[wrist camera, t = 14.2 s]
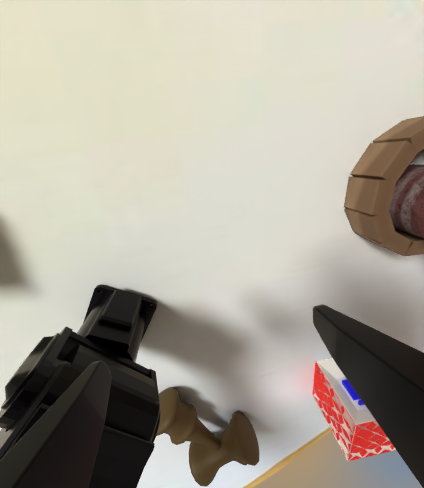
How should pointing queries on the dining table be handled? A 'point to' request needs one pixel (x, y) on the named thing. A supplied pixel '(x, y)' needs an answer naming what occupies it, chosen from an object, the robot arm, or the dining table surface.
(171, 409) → the kendama
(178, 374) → the dining table surface
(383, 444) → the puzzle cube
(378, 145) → the walnut ring
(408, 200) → the can
